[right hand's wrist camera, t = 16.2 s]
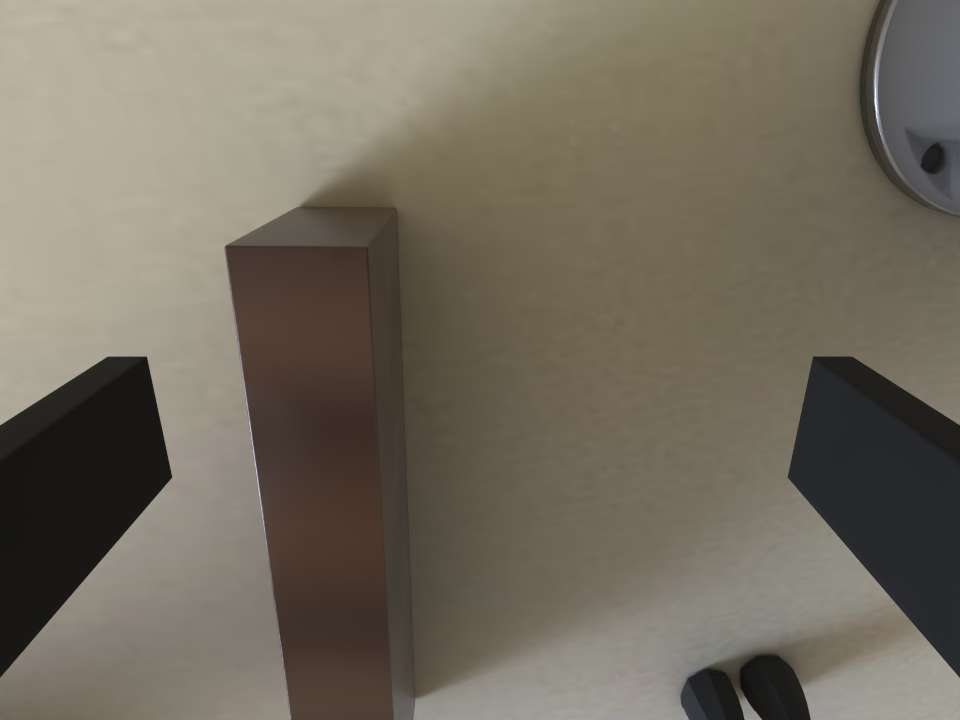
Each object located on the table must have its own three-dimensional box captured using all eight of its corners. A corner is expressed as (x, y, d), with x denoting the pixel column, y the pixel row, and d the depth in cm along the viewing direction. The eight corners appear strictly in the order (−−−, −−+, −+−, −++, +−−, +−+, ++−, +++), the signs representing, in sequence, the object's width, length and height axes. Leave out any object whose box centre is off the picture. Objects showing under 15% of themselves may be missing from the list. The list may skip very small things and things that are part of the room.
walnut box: (296, 206, 31) (223, 246, 22) (396, 207, 31) (367, 246, 22) (343, 702, 43) (310, 862, 34) (414, 701, 43) (401, 861, 34)
